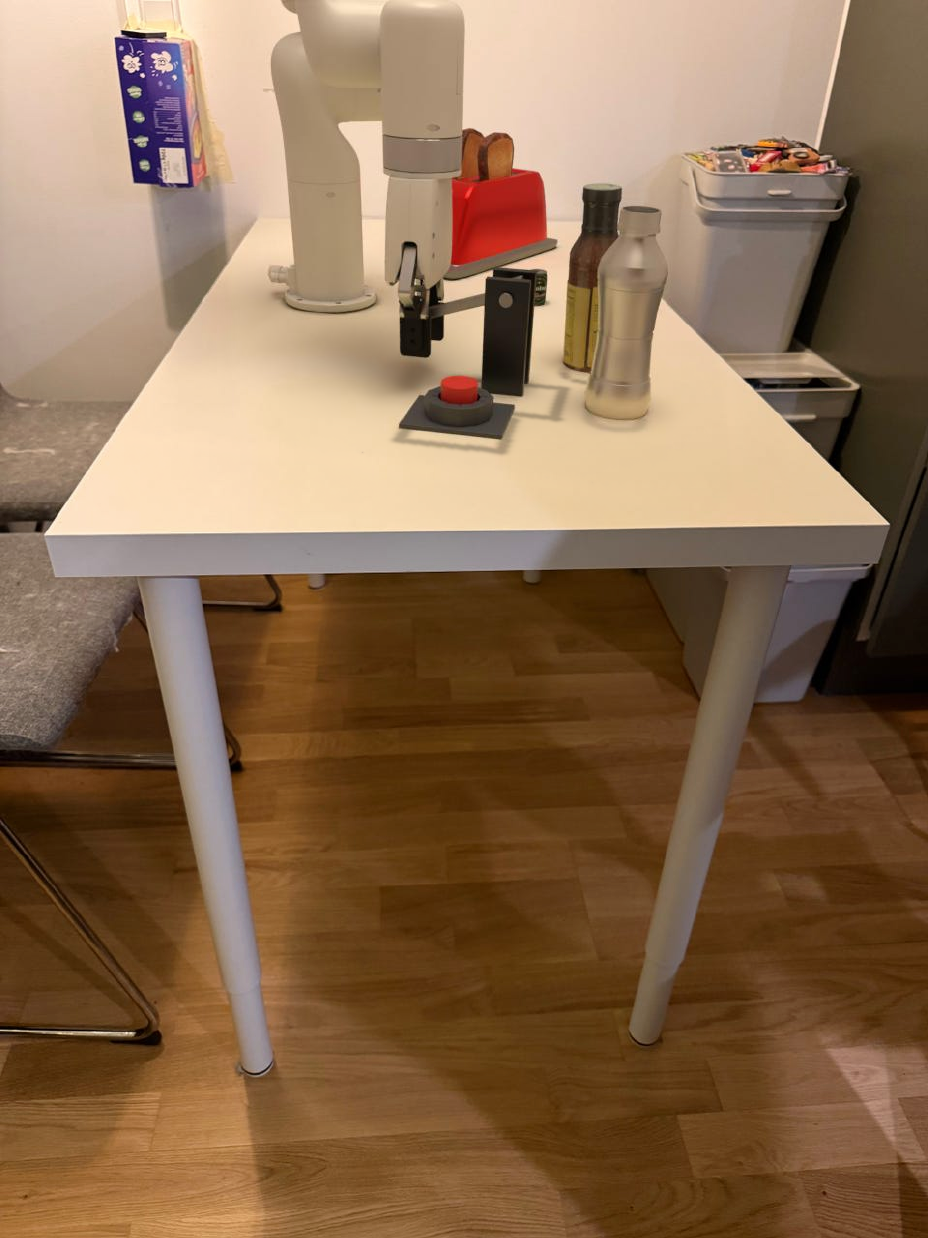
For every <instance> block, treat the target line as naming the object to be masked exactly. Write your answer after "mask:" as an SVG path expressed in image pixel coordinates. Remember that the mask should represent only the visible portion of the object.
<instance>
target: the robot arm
mask: <svg viewBox="0 0 928 1238" xmlns="http://www.w3.org/2000/svg"><path fill="white" fill-rule="evenodd" d="M280 2H281V4H282V6H283V7H284V8H285V9H286V10H287V11H289V12H290V13H292V14H294V15H296V16H297V21H298V25H299V31H296V32H291V33H288V34H286V35H284V36H282V38H280V39H279V40H278V41H277V42H276V43H275V45H274V46H273V48H272V51H271V55H270V76H271V82H272V86H273V91H274V96H275V101H276V105H277V110H278V114H279V118H280V119H279V120H280V126H281V132H282V139H283V148H284V158H285V168H286V169H285V171H286V179H287V192H288V194H287V195H288V204H289V205H288V206H289V217H290V231H291V232H290V233H291V243H292V255H293V257H292V258H293V264H290V265H289V266H283V265H275V264H269V266H268V269H267V275H268V279H269V281H270V283H274V284H286V286H288V288H287V290H286V291H285V292H284V297H285V302H286V303H287V304H288V305H289V306H290V307H293V308H295V309H298V310H302V311H306V312H307V311H308V312H314V313H346V312H352V311H357V310H362V309H366V308H369V307H370V306H372V305H373V304H374V303H375V302H376V300H377V293H376V290H374V289H373V288H372V287H370V286H368V285H366V284H365V267H364V266H365V265H364V242H363V241H364V238H363V237H364V236H363V211H362V210H363V209H362V208H363V207H362V184H361V182H362V181H361V180H362V179H361V165H360V159H359V157H358V154H357V152H356V150H355V148H354V147H353V145H351V143H350V142H349V140H348V139H347V138H346V136H345V135H344V134H343V132H342V131H341V129H340V127H339V124H340V123H349V122H381V133H382V135H381V140H382V142H381V143H382V173H383V174H384V175H386V176H388V180H387V181H388V182H387V190H386V202H385V221H384V222H385V223H384V225H385V227H384V281H385V283H386V285H388V286H390V287H394V286H395V285H396V284H397V283H398V285H397V297H398V299H399V300H398V303H399V311H398V316H399V352H400V355H401V356H404V357H414V358H424V359H427V358H430V356H431V355H432V341H435V342H440V341H442V340H444V337H445V315H443V316H439V317H435V318H430V317H428V309H429V303H430V305H431V306H434V305H438V304H442V303H445V302H444V299H445V283H444V279H445V278H443V276H444V275H445V273H446V272H447V271H448V270H449V268H450V264H451V256H452V193H453V191H452V178H453V177H459V176H460V175H461V167H462V130H463V117H464V115H463V114H464V113H463V112H464V106H463V105H464V76H465V75H464V71H465V70H464V68H465V35H466V34H465V31H466V30H465V15H464V13H463V10H462V8H461V6H460V5H459V4H458V3H456V2H455V1H453V0H280Z"/></svg>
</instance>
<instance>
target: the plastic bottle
mask: <svg viewBox="0 0 928 1238" xmlns="http://www.w3.org/2000/svg"><path fill="white" fill-rule="evenodd" d="M619 211H620V212H619V217H618V223H617V232H619V233H618V235H619V237H618V238H617V239H616V240H615V241H614V243H613V244H612V245H611V246H610V247H609V248H608V250H607V251H606V253H605V254H604V255H603V257H602V258H601V261H600V264H599V266H598V276H597V278H598V307H599V310H598V329H597V341H596V347H595V352H594V357H593V363H592V368H591V371H590V373H588V378H587V380H586V385H585V389H584V403H585V408H586V409H587V411H589V412H590V413H592V414H593V415H596V416H598V417H602V418H606V419H610V420H617V421H618V420H621V421H626V420H627V421H628V420H635V419H639V418H642V417H644V416H645V415H646V414H647V412H648V409H649V406H650V403H651V399H652V381H651V363H652V362H651V361H652V345H653V339H654V331H655V328H656V322H657V317H658V313H659V309H660V305H661V302H662V298H663V295H664V291H665V287H666V285H667V280H668V275H669V270H668V269H669V268H668V262H667V260H666V257H665V254H664V252H663V250H662V248H661V247H660V244H659V242H658V241H657V235H659V234H660V233H661V220H662V209H660V208H657V207H653V206H645V205H626V206H622V207H621V208H620V210H619Z"/></svg>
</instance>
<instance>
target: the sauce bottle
mask: <svg viewBox="0 0 928 1238" xmlns="http://www.w3.org/2000/svg"><path fill="white" fill-rule="evenodd" d="M622 195H623V187H622V186H621V185H619V184H613V183H607V182H606V183H605V182H601V183H600V182H599V183H598V182H597V183H587V184H585V185H583V186H582V193H581V200H582V203H583V209H582V223H581V226H580V229H581V230H580V231H581V232H580V234H579V236H578V237H577V239H576V241H575V242H574V244H573V246H572V247H571V249H570V252H569V261H568V278H567V283H566V302H565V321H564V322H565V323H564V337H563V338H564V339H563V356H562V357H563V358H562V360H563V363H564V364H565V366H566V367H568V368H569V369H571V370H574V371H578V372H582V373H587V374H590V371H591V368H592V363H593V357H594V352H595V347H596V341H597V329H598V310H599V307H598V278H597V276H598V266H599V264H600V261H601V258H602V257H603V255H604V254H605V253H606V251H607V250H608V248H609V247H610V246H611V245H612V244H613V243H614V241H615V240H616V239H617V238H618V237H619V231H618V230H617V225H618V223H619V211H620V210H619V209H620V203H621V201H622V199H623V197H622Z"/></svg>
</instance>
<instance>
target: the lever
mask: <svg viewBox="0 0 928 1238" xmlns="http://www.w3.org/2000/svg"><path fill="white" fill-rule="evenodd" d="M513 279H524V278H523V275H521V276H517V277H513ZM480 307H485V292H483V293H479V294H475V295H470V296H467V297H463V298H459V299H454V300H451V301H447V302H444V303H442V304H438V305H434V306H431V305H430V303H429V309H428V317H430V318H435V317H439V316H443V315H444V316H446V315H452V314H454V313H459V312H464V311H468V310H471V309H477V308H480Z"/></svg>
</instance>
